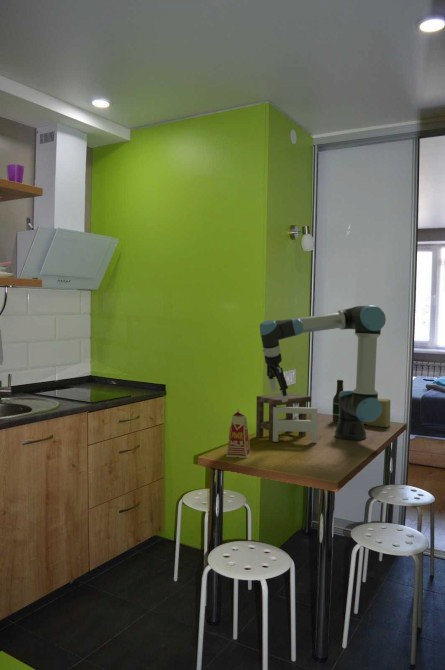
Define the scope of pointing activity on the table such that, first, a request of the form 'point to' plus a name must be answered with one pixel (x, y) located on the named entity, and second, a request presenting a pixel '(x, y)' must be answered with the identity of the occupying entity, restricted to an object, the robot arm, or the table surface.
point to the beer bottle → (337, 401)
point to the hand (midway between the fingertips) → (279, 396)
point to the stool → (272, 402)
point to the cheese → (382, 415)
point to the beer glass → (296, 415)
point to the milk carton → (238, 437)
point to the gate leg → (295, 422)
